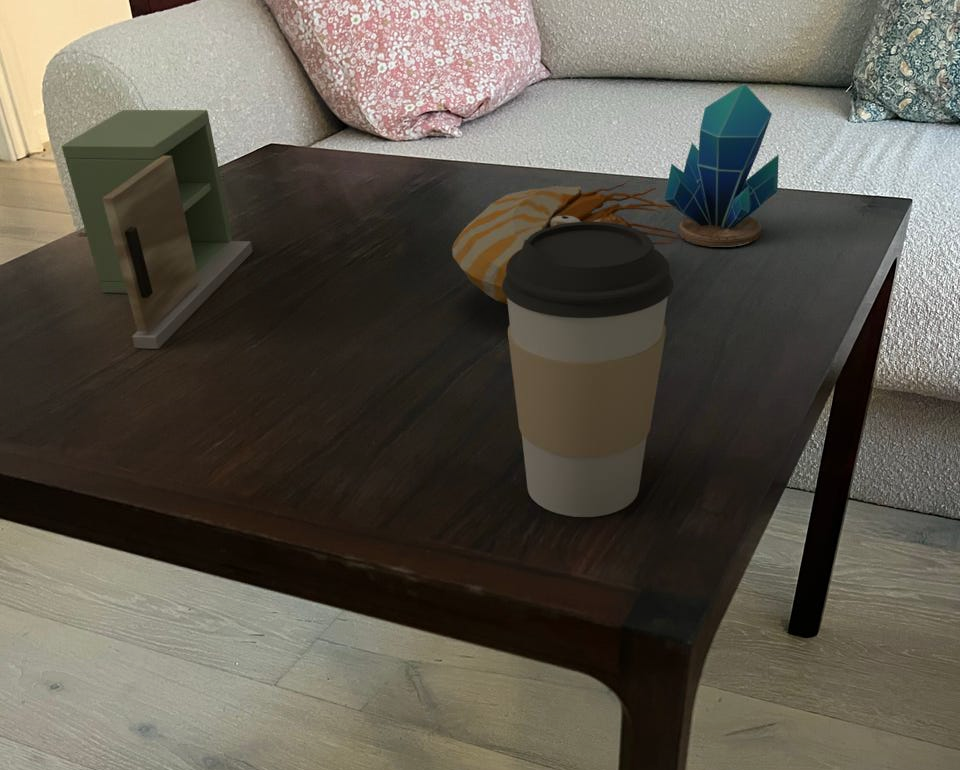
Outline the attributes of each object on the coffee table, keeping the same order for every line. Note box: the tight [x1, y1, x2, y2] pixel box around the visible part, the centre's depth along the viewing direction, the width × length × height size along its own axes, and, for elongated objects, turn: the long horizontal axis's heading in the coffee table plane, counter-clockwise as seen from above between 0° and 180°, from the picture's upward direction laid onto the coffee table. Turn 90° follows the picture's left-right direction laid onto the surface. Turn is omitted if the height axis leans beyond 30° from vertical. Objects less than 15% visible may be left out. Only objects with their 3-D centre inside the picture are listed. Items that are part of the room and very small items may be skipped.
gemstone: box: [663, 83, 780, 247], centre depth 91 cm, size 7×9×12 cm
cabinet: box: [61, 109, 254, 350], centre depth 87 cm, size 10×22×12 cm, turn 169°
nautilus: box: [451, 179, 682, 306], centre depth 84 cm, size 8×22×15 cm
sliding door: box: [102, 156, 199, 332], centre depth 82 cm, size 1×10×10 cm, turn 169°
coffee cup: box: [502, 222, 675, 518], centre depth 59 cm, size 9×9×15 cm
